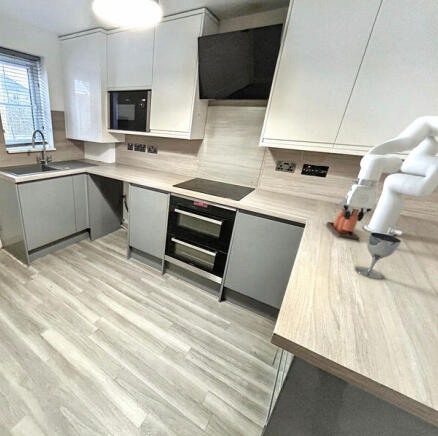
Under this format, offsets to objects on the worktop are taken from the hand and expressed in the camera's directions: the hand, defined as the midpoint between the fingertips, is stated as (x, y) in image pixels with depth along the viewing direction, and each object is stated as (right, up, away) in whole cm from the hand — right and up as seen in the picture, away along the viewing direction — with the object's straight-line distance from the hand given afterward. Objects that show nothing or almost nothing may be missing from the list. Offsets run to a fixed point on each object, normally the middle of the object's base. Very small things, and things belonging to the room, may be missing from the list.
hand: (352, 219), depth 116 cm
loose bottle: (0, -5, +2) cm, 6 cm away
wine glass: (-17, -21, -27) cm, 38 cm away
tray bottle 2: (+2, -7, +9) cm, 11 cm away
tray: (+2, -7, +9) cm, 12 cm away
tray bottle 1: (+4, -5, +14) cm, 15 cm away
